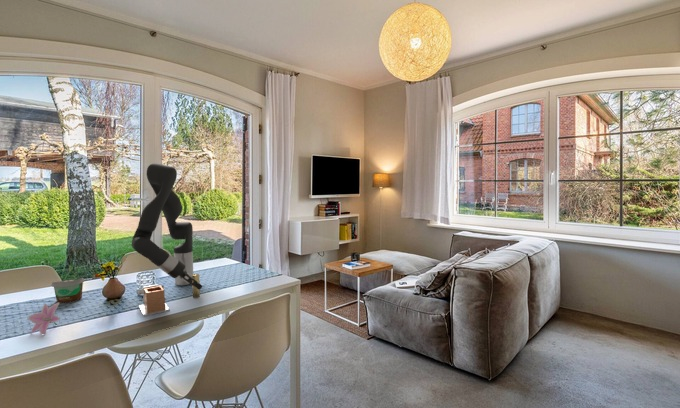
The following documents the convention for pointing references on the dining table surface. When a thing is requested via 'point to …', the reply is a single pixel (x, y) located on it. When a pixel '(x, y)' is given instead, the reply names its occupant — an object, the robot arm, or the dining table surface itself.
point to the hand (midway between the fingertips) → (198, 285)
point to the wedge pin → (195, 291)
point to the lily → (44, 318)
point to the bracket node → (153, 300)
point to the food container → (68, 290)
